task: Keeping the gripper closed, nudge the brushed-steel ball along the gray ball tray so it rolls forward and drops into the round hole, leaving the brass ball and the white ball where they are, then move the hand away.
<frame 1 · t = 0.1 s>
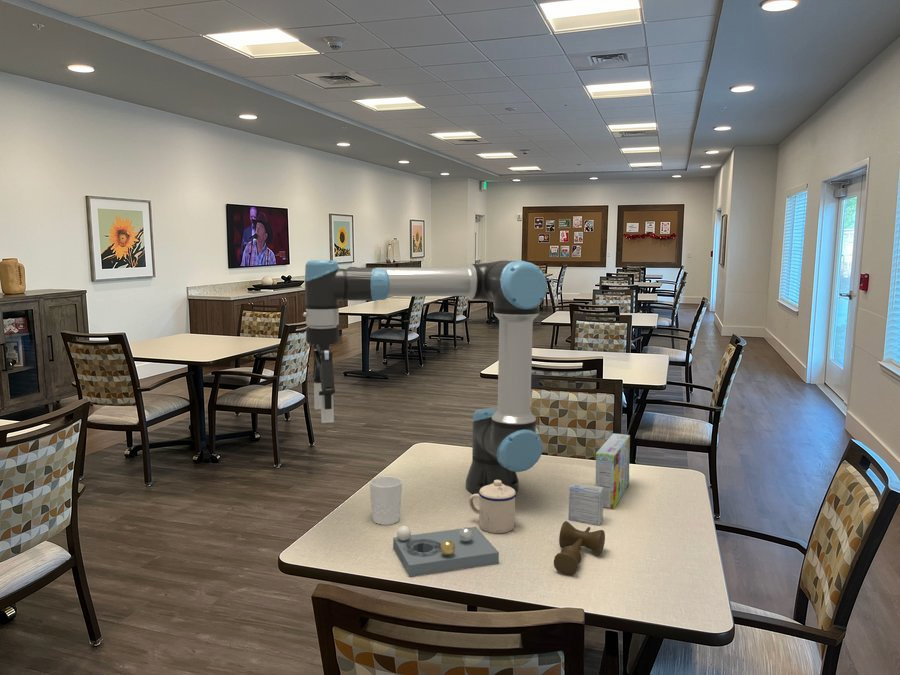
hand: (323, 415, 155), 28 cm above the table, tool pointing down, fingers open, 13 cm apart
medicine box: (585, 520, 165), on the table
snack box: (612, 496, 182), on the table
white cup: (386, 520, 164), on the table
steel ball: (466, 534, 146), point 4 cm above the table, touching gray ball tray
gray ball tray: (444, 555, 145), on the table
white ball: (404, 533, 146), point 4 cm above the table, touching gray ball tray
teacup with lid: (491, 526, 161), on the table
brass ball: (447, 548, 139), point 4 cm above the table, touching gray ball tray
kendama: (577, 558, 145), on the table
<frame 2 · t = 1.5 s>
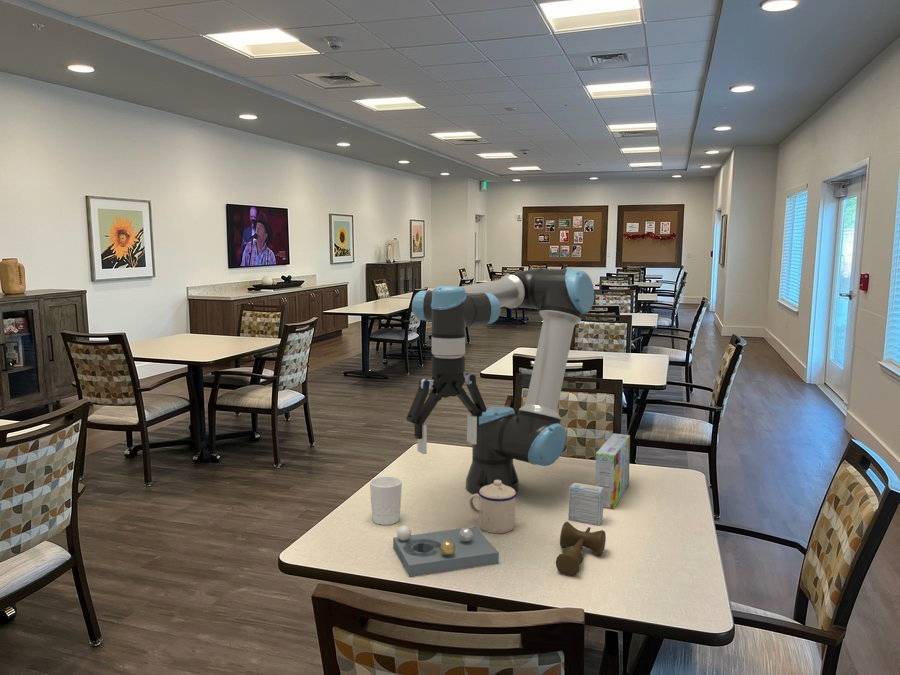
hand: (447, 447, 149), 22 cm above the table, tool pointing down, fingers open, 13 cm apart
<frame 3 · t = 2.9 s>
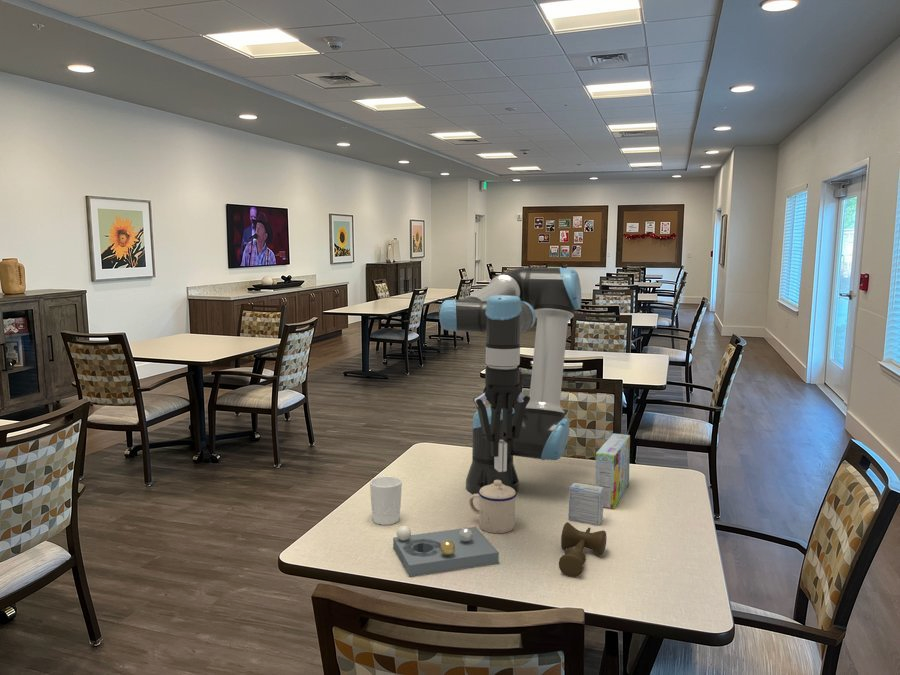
hand: (500, 469, 146), 18 cm above the table, tool pointing down, fingers closed
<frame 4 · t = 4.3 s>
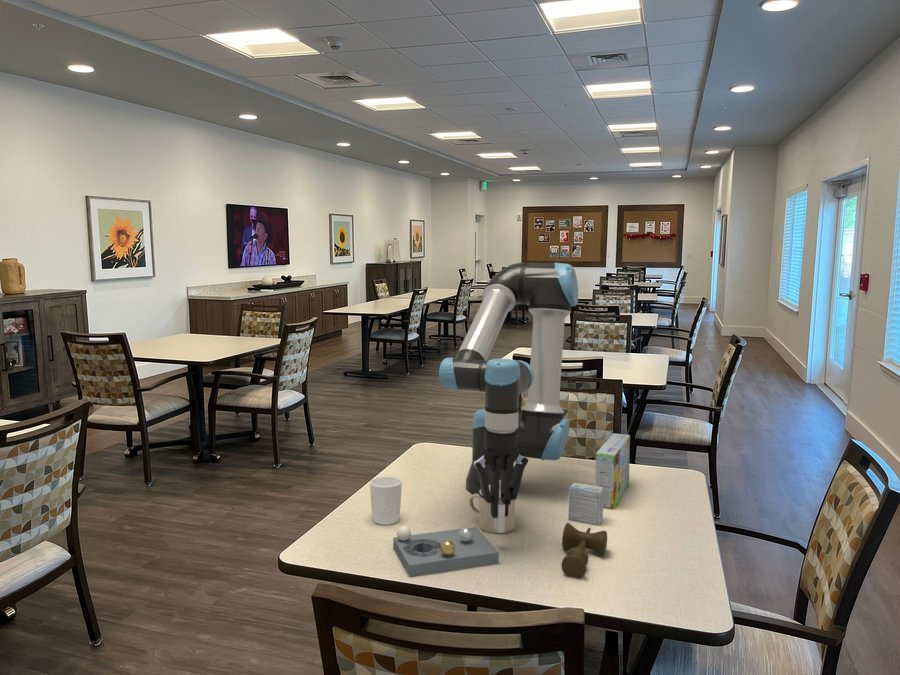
hand: (499, 530, 148), 4 cm above the table, tool pointing down, fingers closed
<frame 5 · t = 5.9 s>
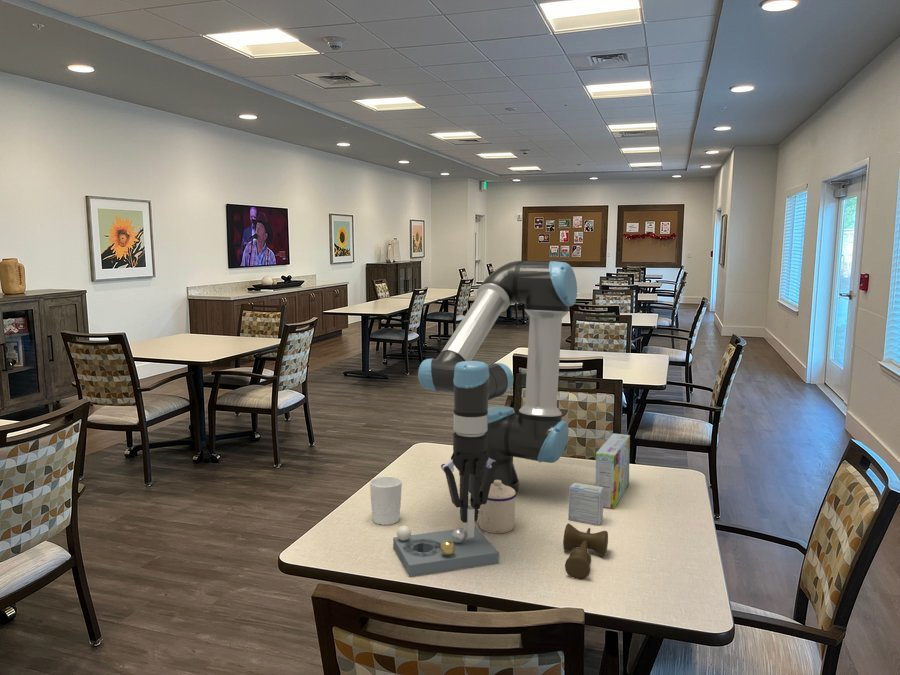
hand: (468, 535, 146), 4 cm above the table, tool pointing down, fingers closed
steel ball: (458, 535, 145), point 4 cm above the table, tilted 60°, touching gray ball tray
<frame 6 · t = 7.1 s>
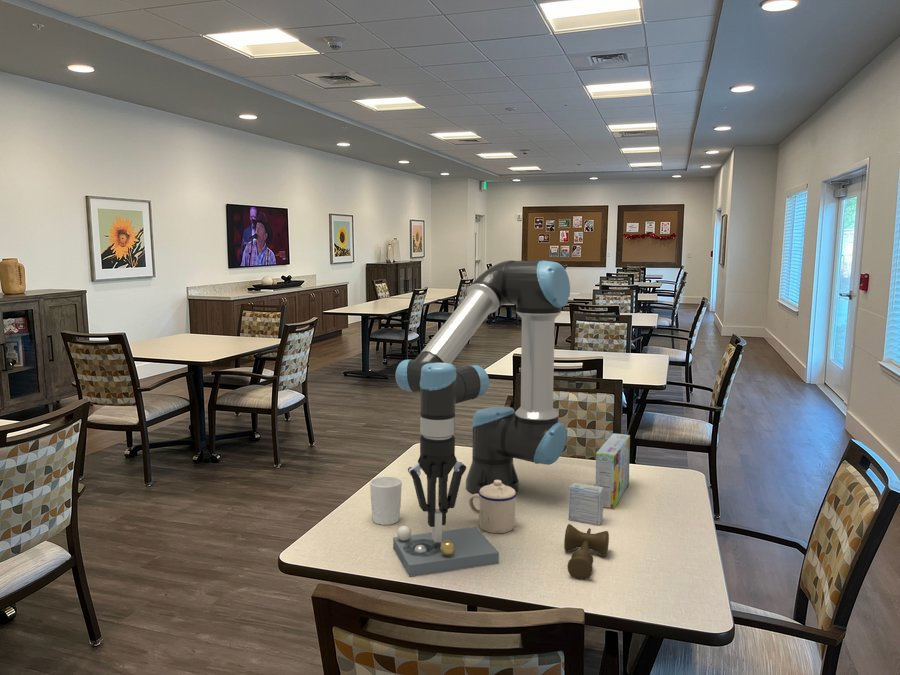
hand: (436, 539, 143), 4 cm above the table, tool pointing down, fingers closed
steel ball: (420, 552, 143), point 2 cm above the table, tilted 61°
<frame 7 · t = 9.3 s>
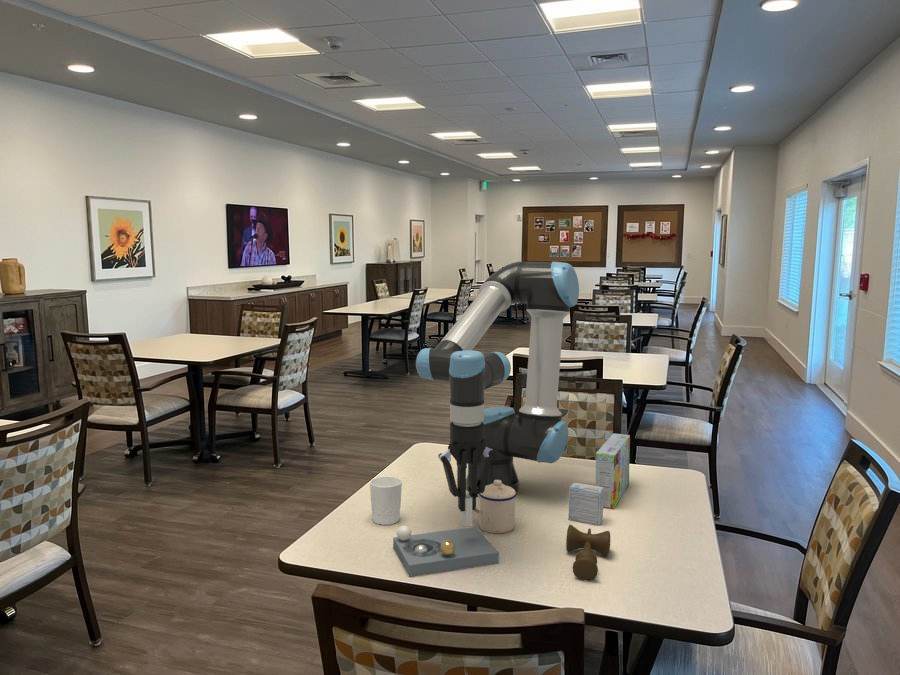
hand: (467, 523, 146), 6 cm above the table, tool pointing down, fingers closed
steel ball: (421, 552, 143), point 2 cm above the table, tilted 55°
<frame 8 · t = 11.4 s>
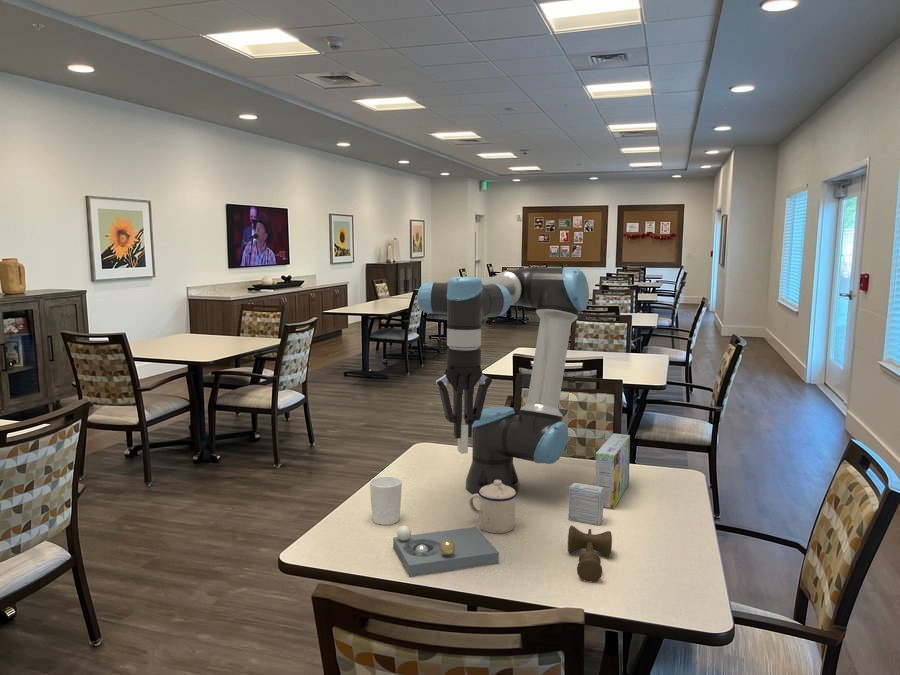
hand: (462, 451, 146), 22 cm above the table, tool pointing down, fingers closed
steel ball: (421, 552, 143), point 2 cm above the table, tilted 49°
at the end: steel ball 0.3 cm from the target spot in the gray ball tray, point 1.6 cm above the gray ball tray's base; brass ball moved 0.1 cm from its start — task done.
